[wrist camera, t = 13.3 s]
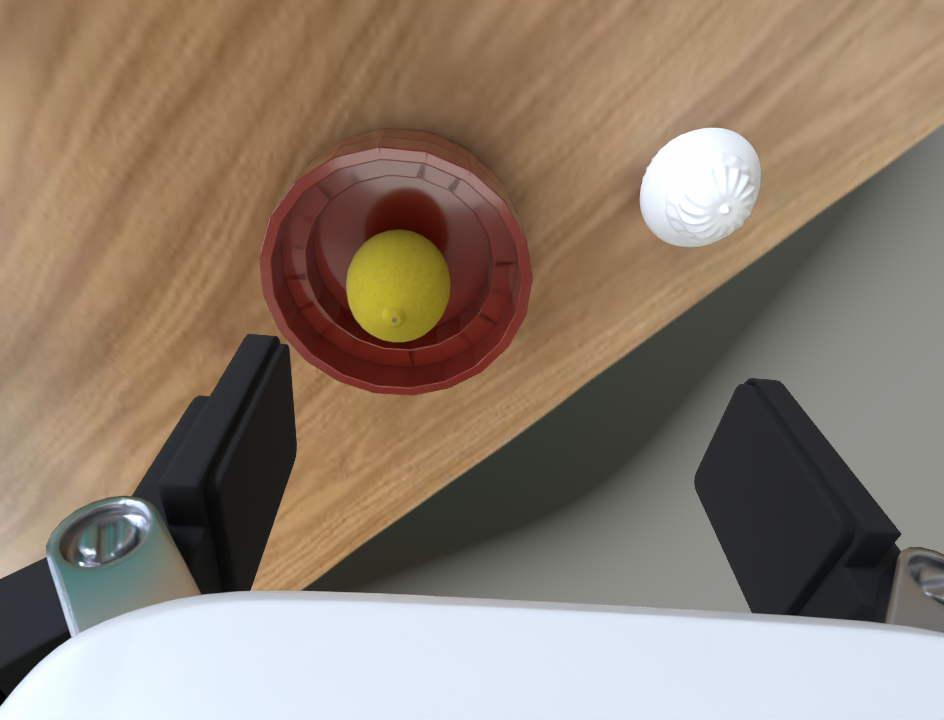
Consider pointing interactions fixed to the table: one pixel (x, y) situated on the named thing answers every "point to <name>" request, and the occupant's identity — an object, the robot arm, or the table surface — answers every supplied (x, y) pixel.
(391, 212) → the bowl
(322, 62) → the table surface
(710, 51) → the table surface
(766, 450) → the robot arm
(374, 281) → the lemon
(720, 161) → the muffin
